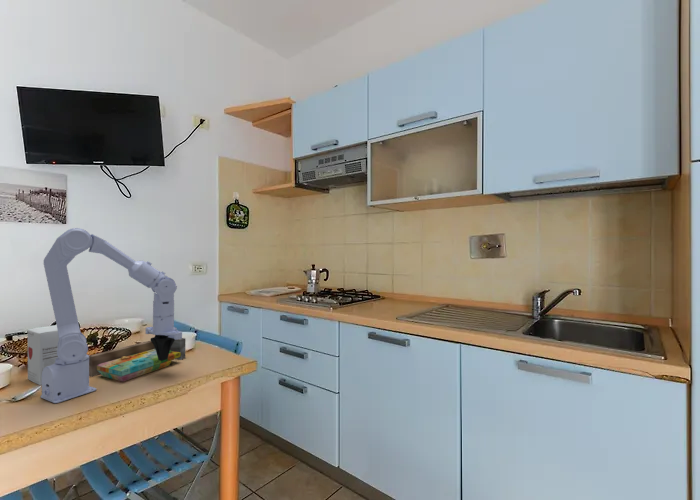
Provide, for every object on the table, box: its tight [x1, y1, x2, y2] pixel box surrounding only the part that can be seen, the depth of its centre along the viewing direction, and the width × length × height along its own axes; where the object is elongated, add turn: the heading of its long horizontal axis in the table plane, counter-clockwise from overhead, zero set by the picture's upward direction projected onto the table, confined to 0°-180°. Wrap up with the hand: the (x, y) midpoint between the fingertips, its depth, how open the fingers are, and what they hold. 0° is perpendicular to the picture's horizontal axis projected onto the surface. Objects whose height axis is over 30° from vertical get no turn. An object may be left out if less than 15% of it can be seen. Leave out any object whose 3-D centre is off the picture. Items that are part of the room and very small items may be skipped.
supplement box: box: [27, 324, 59, 386], centre depth 105 cm, size 9×9×15 cm
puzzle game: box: [97, 349, 181, 383], centre depth 112 cm, size 12×5×20 cm
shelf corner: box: [89, 337, 186, 378], centre depth 115 cm, size 25×12×7 cm, turn 153°
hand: (163, 359), depth 108 cm, fingers closed
